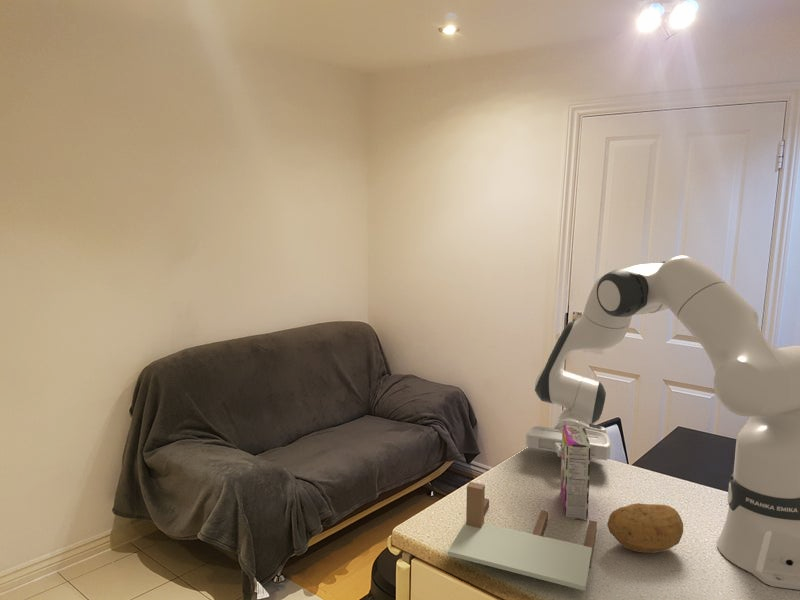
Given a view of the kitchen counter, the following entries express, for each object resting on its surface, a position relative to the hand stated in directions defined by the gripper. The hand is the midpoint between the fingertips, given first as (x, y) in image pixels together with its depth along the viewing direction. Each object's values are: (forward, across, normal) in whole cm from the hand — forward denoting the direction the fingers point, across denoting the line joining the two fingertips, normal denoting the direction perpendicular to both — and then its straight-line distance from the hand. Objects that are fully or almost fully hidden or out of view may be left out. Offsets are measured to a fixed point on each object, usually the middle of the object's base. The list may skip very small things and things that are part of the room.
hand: (563, 454), depth 131 cm
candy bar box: (+12, +4, +6) cm, 14 cm away
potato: (+23, +18, +6) cm, 30 cm away
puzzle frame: (+27, -3, +6) cm, 28 cm away
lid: (+37, -3, +4) cm, 38 cm away
